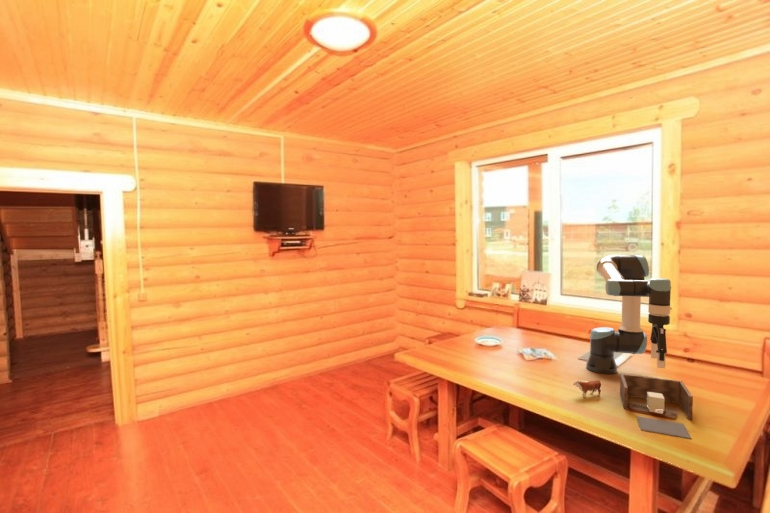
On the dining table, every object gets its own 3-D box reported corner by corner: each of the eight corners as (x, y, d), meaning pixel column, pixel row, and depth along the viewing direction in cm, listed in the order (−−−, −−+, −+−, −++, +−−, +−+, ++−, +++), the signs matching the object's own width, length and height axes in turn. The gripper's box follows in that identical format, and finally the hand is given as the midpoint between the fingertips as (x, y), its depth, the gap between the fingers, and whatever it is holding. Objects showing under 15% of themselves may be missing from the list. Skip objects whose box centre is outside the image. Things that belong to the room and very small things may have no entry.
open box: (624, 409, 171) (624, 387, 170) (619, 393, 187) (620, 373, 186) (692, 420, 160) (692, 396, 159) (681, 402, 176) (682, 381, 175)
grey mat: (641, 430, 153) (641, 429, 153) (636, 416, 164) (636, 416, 164) (691, 439, 146) (691, 438, 146) (683, 424, 157) (683, 423, 157)
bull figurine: (571, 394, 187) (571, 378, 186) (598, 393, 188) (598, 376, 187) (576, 398, 182) (577, 381, 182) (603, 397, 183) (604, 380, 183)
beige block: (648, 412, 168) (649, 396, 167) (646, 406, 173) (646, 391, 172) (664, 414, 166) (664, 398, 165) (661, 409, 170) (661, 393, 170)
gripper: (676, 321, 154) (675, 373, 155) (663, 309, 176) (662, 355, 178) (654, 319, 157) (652, 371, 159) (643, 308, 180) (642, 353, 181)
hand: (657, 362), depth 168 cm, fingers open, 13 cm apart
